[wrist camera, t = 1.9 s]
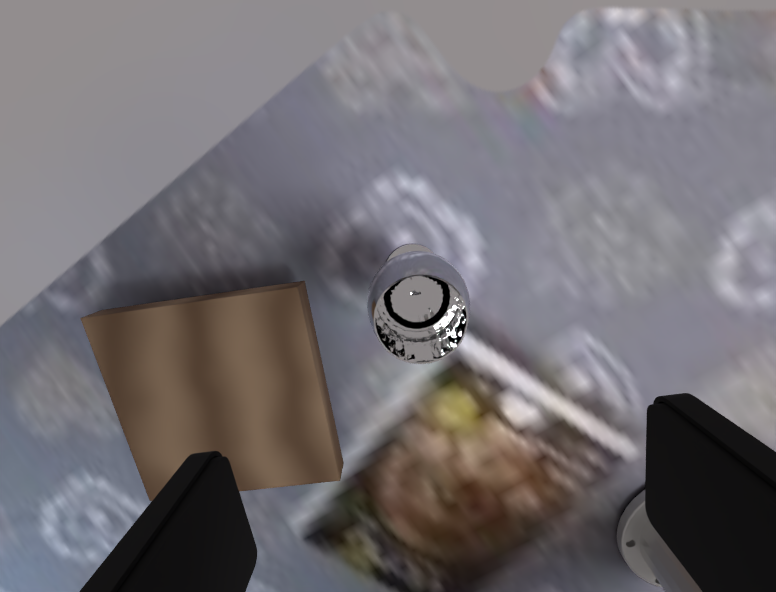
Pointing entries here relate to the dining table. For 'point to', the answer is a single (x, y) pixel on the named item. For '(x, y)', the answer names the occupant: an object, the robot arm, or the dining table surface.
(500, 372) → the dining table surface
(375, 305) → the wineglass
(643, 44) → the dining table surface
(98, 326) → the stand
